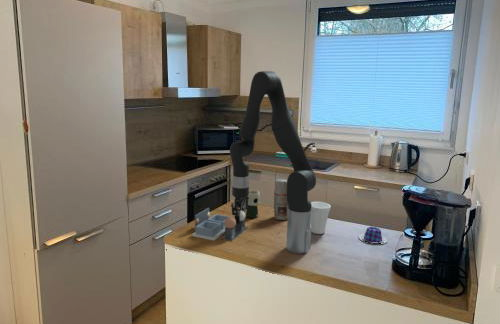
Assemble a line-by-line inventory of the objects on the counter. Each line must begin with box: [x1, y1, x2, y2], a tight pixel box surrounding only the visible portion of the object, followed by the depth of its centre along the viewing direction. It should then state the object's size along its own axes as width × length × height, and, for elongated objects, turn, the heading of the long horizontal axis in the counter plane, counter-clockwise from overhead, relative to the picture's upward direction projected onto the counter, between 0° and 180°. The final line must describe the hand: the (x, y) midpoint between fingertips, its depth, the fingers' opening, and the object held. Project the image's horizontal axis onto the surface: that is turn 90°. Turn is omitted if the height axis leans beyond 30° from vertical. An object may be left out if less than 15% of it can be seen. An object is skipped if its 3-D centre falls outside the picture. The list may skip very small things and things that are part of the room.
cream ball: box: [233, 210, 246, 221], centre depth 179 cm, size 5×5×5 cm
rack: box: [191, 213, 230, 241], centre depth 179 cm, size 11×20×4 cm, turn 157°
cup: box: [310, 201, 332, 235], centre depth 179 cm, size 10×10×13 cm
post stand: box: [221, 219, 248, 242], centre depth 176 cm, size 5×16×5 cm, turn 157°
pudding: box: [358, 226, 388, 245], centre depth 174 cm, size 12×12×5 cm
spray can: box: [273, 178, 288, 221], centre depth 196 cm, size 8×8×20 cm
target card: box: [194, 207, 211, 233], centre depth 181 cm, size 1×13×8 cm, turn 157°
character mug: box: [245, 189, 261, 218], centre depth 197 cm, size 11×7×13 cm, turn 149°
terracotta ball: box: [224, 216, 236, 229], centre depth 170 cm, size 5×5×5 cm
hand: (239, 221), depth 180 cm, fingers closed on cream ball, 5 cm apart
